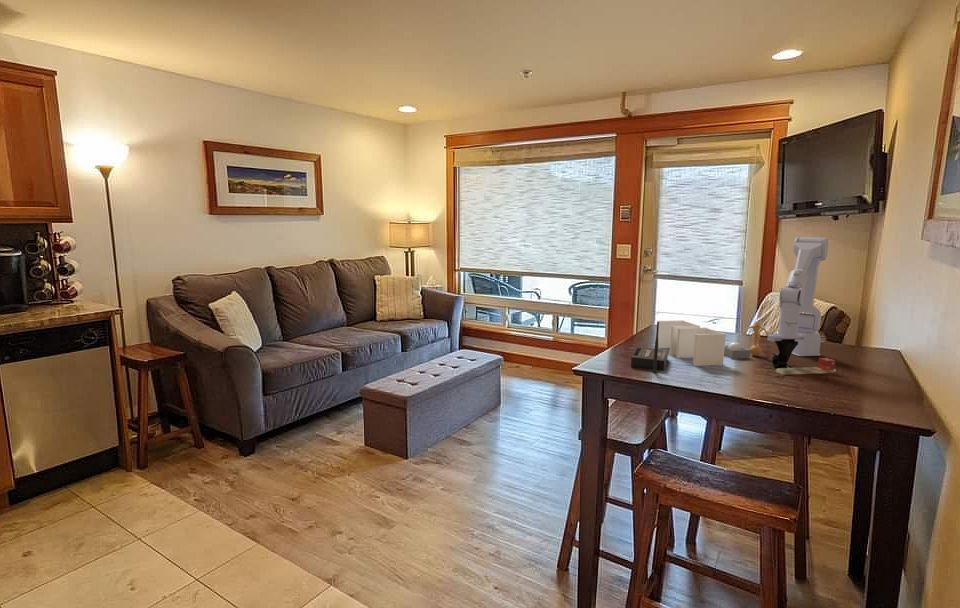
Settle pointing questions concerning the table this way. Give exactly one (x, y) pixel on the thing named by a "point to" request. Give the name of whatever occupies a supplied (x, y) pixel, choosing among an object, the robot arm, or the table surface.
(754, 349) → the figurine
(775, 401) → the table surface
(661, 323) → the white brackets
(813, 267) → the robot arm
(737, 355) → the housing
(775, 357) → the black piece
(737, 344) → the white glossy sphere
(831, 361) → the space track
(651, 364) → the wireless controller
